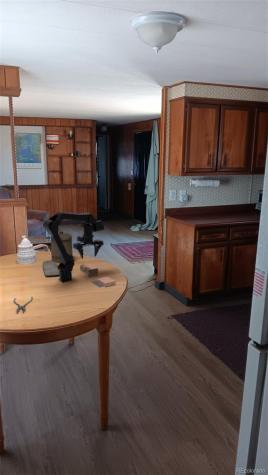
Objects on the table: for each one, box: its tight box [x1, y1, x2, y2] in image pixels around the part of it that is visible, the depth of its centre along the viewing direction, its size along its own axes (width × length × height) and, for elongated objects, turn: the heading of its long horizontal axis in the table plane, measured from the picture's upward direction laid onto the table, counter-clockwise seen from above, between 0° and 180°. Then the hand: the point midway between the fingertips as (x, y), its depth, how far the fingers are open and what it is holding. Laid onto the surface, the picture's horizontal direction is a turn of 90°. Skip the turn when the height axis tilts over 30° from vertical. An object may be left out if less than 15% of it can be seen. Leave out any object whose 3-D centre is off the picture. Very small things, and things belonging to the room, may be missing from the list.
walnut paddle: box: [79, 264, 99, 278], centre depth 221 cm, size 16×6×5 cm, turn 36°
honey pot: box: [16, 235, 37, 265], centre depth 244 cm, size 13×13×18 cm
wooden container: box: [50, 229, 74, 264], centre depth 247 cm, size 15×15×22 cm
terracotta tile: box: [96, 276, 116, 288], centre depth 203 cm, size 7×2×9 cm
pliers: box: [13, 296, 34, 315], centre depth 175 cm, size 10×1×20 cm
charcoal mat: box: [90, 279, 105, 288], centre depth 204 cm, size 11×11×1 cm
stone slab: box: [42, 260, 60, 278], centre depth 228 cm, size 10×3×30 cm
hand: (88, 257), depth 217 cm, fingers open, 9 cm apart
